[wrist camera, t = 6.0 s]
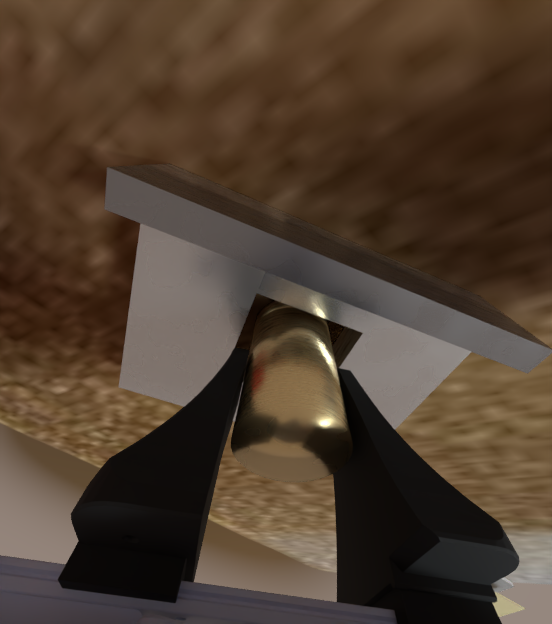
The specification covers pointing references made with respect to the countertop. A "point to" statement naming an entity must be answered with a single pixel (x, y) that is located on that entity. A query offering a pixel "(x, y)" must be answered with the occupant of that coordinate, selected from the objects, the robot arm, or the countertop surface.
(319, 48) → the countertop surface
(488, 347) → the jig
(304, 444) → the brass cylinder
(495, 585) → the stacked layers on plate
